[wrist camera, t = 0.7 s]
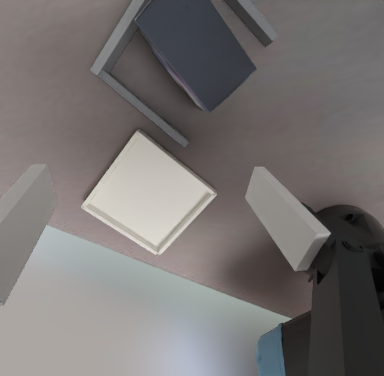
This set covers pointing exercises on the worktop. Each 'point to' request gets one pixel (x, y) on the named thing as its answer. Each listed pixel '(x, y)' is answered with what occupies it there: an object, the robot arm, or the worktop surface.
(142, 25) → the small box
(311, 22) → the worktop surface
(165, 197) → the tray
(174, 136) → the bay
